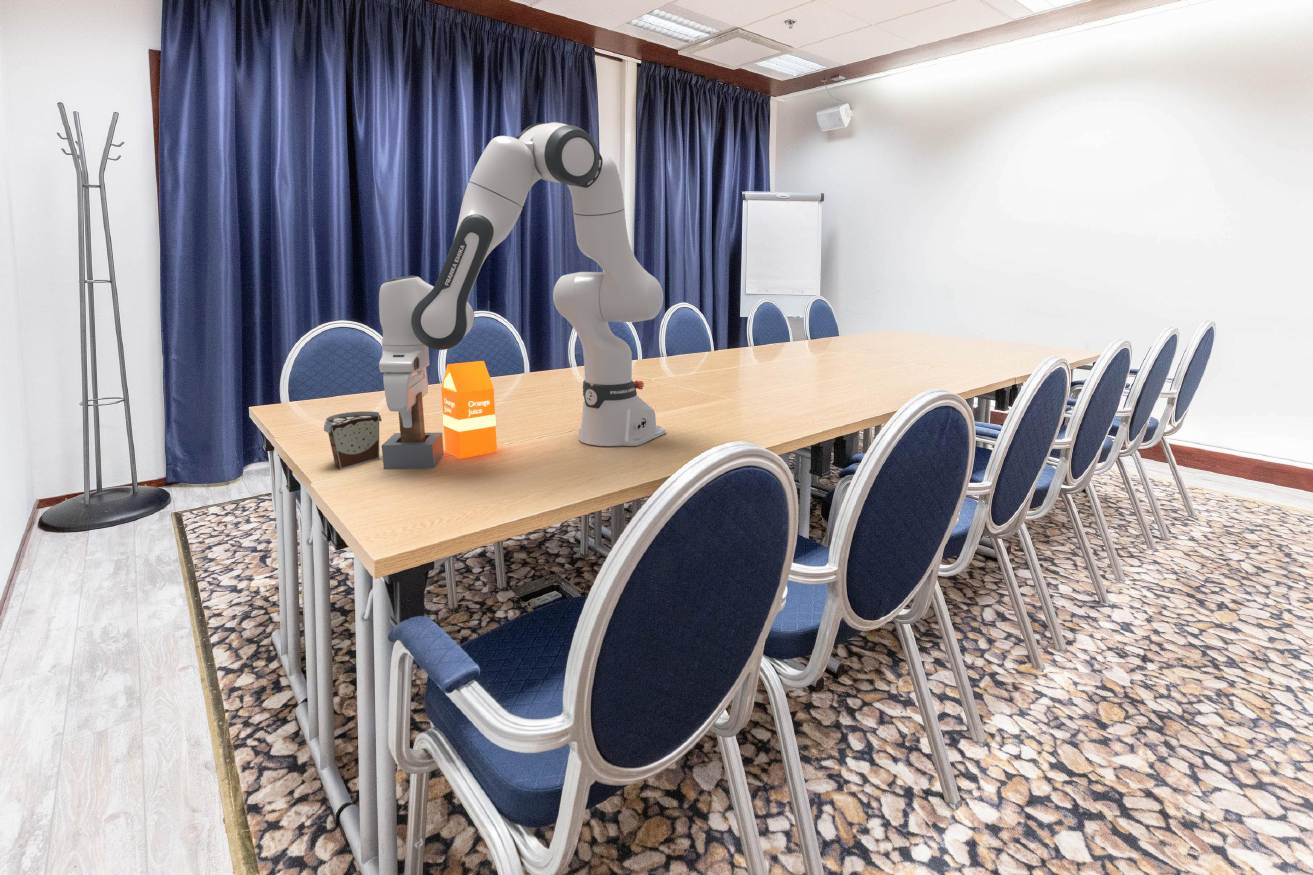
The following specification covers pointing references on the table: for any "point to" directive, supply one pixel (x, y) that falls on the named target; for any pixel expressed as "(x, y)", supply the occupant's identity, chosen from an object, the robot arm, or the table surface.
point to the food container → (353, 437)
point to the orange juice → (468, 410)
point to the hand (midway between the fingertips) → (411, 423)
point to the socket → (412, 452)
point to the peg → (414, 423)
